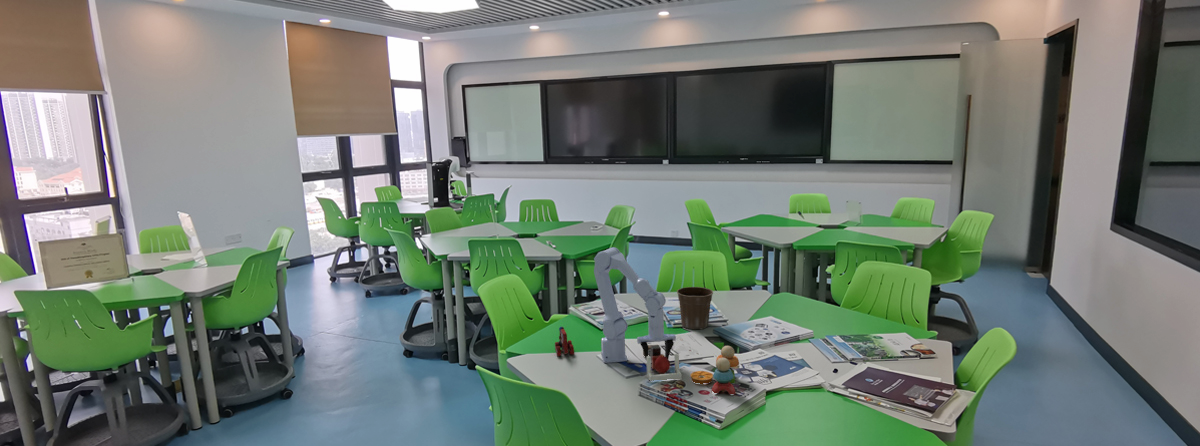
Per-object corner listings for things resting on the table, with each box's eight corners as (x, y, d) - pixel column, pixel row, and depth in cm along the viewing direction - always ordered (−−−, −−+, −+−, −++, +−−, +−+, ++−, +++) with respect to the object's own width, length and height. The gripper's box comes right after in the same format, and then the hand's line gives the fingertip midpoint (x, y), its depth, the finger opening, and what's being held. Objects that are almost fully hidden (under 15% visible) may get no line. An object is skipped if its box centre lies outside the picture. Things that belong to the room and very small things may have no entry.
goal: (649, 383, 210) (648, 361, 209) (646, 377, 215) (646, 356, 214) (682, 380, 211) (681, 358, 210) (678, 374, 216) (678, 353, 215)
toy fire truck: (570, 346, 249) (569, 323, 247) (575, 357, 237) (573, 332, 235) (554, 348, 248) (552, 324, 246) (557, 359, 236) (556, 334, 234)
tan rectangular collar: (644, 357, 233) (644, 348, 233) (643, 355, 236) (642, 345, 235) (659, 356, 234) (659, 346, 234) (658, 354, 237) (658, 344, 236)
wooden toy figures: (689, 375, 216) (689, 342, 214) (737, 374, 214) (737, 342, 212) (693, 397, 198) (692, 361, 196) (745, 397, 197) (745, 361, 195)
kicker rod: (652, 369, 221) (652, 352, 220) (642, 351, 240) (642, 335, 239) (665, 368, 222) (664, 351, 221) (654, 350, 240) (653, 334, 239)
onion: (652, 372, 219) (652, 351, 218) (667, 370, 220) (667, 350, 219) (656, 378, 214) (656, 357, 212) (672, 376, 214) (671, 356, 213)
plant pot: (718, 322, 271) (718, 288, 269) (705, 333, 258) (704, 298, 255) (686, 318, 280) (685, 285, 277) (671, 328, 266) (670, 293, 264)
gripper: (639, 330, 217) (640, 365, 220) (677, 327, 219) (678, 361, 221) (635, 324, 224) (636, 358, 226) (672, 321, 226) (673, 355, 228)
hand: (656, 359), depth 224 cm, fingers open, 7 cm apart
